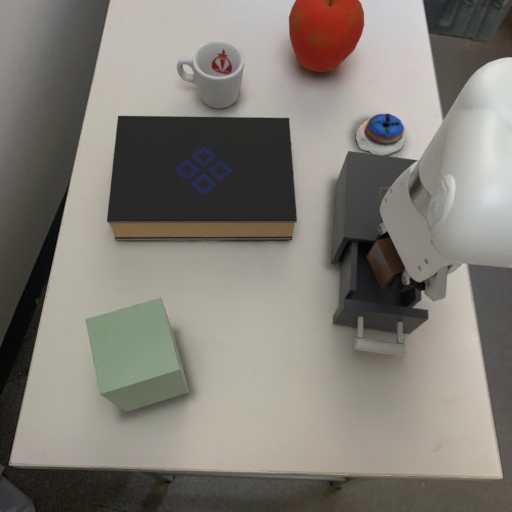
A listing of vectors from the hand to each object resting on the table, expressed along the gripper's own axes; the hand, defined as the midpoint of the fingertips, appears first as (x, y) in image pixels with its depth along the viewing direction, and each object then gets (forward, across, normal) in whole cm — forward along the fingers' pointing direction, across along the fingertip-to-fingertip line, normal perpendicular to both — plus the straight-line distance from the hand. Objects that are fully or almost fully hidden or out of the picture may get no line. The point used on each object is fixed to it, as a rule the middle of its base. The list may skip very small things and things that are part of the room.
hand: (390, 266), depth 60 cm
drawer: (+8, -1, +1) cm, 9 cm away
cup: (+10, +40, +12) cm, 43 cm away
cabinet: (+9, +9, -4) cm, 14 cm away
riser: (+9, -2, +32) cm, 33 cm away
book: (+10, +22, +18) cm, 30 cm away
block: (0, 0, 0) cm, 0 cm away
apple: (+10, +42, -8) cm, 44 cm away
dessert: (+10, +24, -12) cm, 29 cm away
